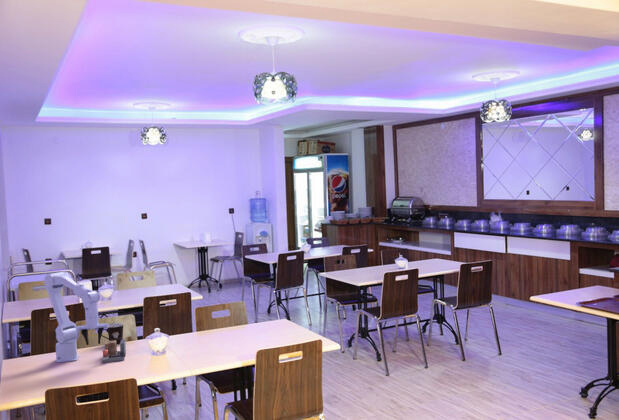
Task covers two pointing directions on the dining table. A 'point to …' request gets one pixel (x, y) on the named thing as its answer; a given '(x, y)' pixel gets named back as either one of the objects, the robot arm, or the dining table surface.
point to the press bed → (118, 353)
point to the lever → (105, 355)
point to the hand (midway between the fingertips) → (93, 344)
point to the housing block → (111, 347)
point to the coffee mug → (115, 332)
